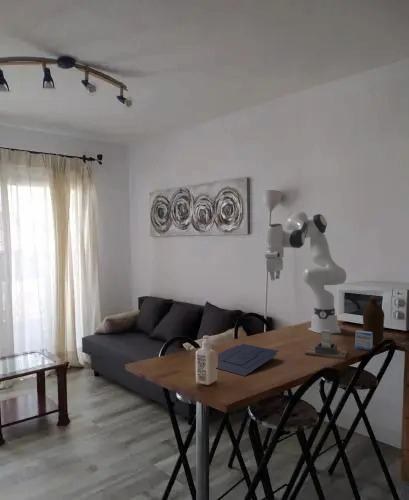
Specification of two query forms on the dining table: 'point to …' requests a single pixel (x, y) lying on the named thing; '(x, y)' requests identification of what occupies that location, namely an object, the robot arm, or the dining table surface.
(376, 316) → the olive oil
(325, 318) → the robot arm
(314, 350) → the rack
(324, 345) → the peg block
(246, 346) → the dark blue flat slab
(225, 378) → the dining table surface
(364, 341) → the medicine box
